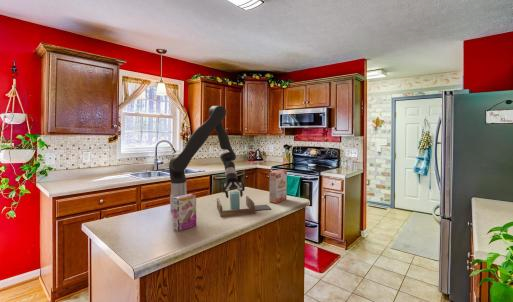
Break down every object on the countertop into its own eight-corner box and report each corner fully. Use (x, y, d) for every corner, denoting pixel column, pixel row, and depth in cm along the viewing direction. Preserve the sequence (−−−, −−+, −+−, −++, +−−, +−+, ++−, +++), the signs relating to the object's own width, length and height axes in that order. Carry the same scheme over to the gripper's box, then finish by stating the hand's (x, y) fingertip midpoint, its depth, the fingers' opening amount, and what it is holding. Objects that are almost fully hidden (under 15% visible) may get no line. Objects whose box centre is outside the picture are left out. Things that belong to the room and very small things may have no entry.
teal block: (230, 209, 167) (230, 192, 166) (238, 208, 168) (237, 191, 167) (231, 211, 162) (231, 193, 161) (239, 211, 163) (239, 193, 163)
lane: (216, 207, 171) (216, 198, 171) (247, 204, 176) (247, 196, 176) (220, 216, 153) (220, 206, 152) (255, 213, 158) (254, 203, 157)
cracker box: (276, 203, 179) (276, 172, 177) (269, 202, 182) (268, 172, 181) (287, 199, 190) (287, 170, 188) (280, 198, 193) (279, 169, 192)
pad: (251, 206, 173) (251, 205, 173) (266, 205, 175) (266, 204, 175) (255, 210, 163) (255, 210, 163) (271, 209, 166) (271, 208, 166)
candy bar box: (178, 232, 130) (177, 199, 129) (172, 229, 133) (171, 197, 132) (197, 225, 139) (196, 194, 137) (191, 223, 142) (190, 193, 141)
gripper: (220, 173, 172) (223, 194, 162) (242, 171, 175) (246, 192, 165) (220, 179, 177) (222, 201, 167) (241, 178, 181) (245, 199, 171)
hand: (234, 196), depth 166 cm, fingers open, 8 cm apart
